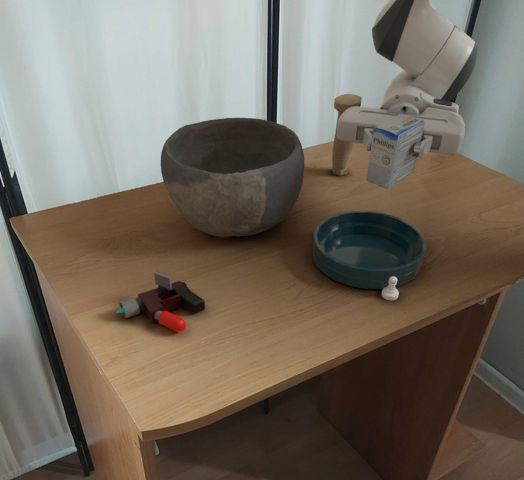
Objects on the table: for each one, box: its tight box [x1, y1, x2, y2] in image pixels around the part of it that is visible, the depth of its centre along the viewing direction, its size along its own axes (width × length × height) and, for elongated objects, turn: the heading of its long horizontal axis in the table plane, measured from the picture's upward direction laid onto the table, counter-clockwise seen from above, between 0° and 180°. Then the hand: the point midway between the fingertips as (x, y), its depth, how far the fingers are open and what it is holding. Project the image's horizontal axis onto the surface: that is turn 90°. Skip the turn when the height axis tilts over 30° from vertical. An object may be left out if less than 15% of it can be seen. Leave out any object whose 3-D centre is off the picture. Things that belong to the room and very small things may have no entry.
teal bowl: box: [311, 210, 427, 290], centre depth 89 cm, size 18×18×4 cm
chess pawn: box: [381, 276, 400, 301], centre depth 82 cm, size 3×3×4 cm
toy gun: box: [115, 271, 206, 333], centre depth 77 cm, size 10×12×5 cm
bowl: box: [160, 117, 305, 238], centre depth 94 cm, size 24×24×15 cm
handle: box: [331, 93, 363, 177], centre depth 109 cm, size 5×6×15 cm
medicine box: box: [365, 114, 425, 190], centre depth 84 cm, size 8×4×9 cm, turn 138°
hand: (394, 149), depth 83 cm, fingers closed on medicine box, 6 cm apart
